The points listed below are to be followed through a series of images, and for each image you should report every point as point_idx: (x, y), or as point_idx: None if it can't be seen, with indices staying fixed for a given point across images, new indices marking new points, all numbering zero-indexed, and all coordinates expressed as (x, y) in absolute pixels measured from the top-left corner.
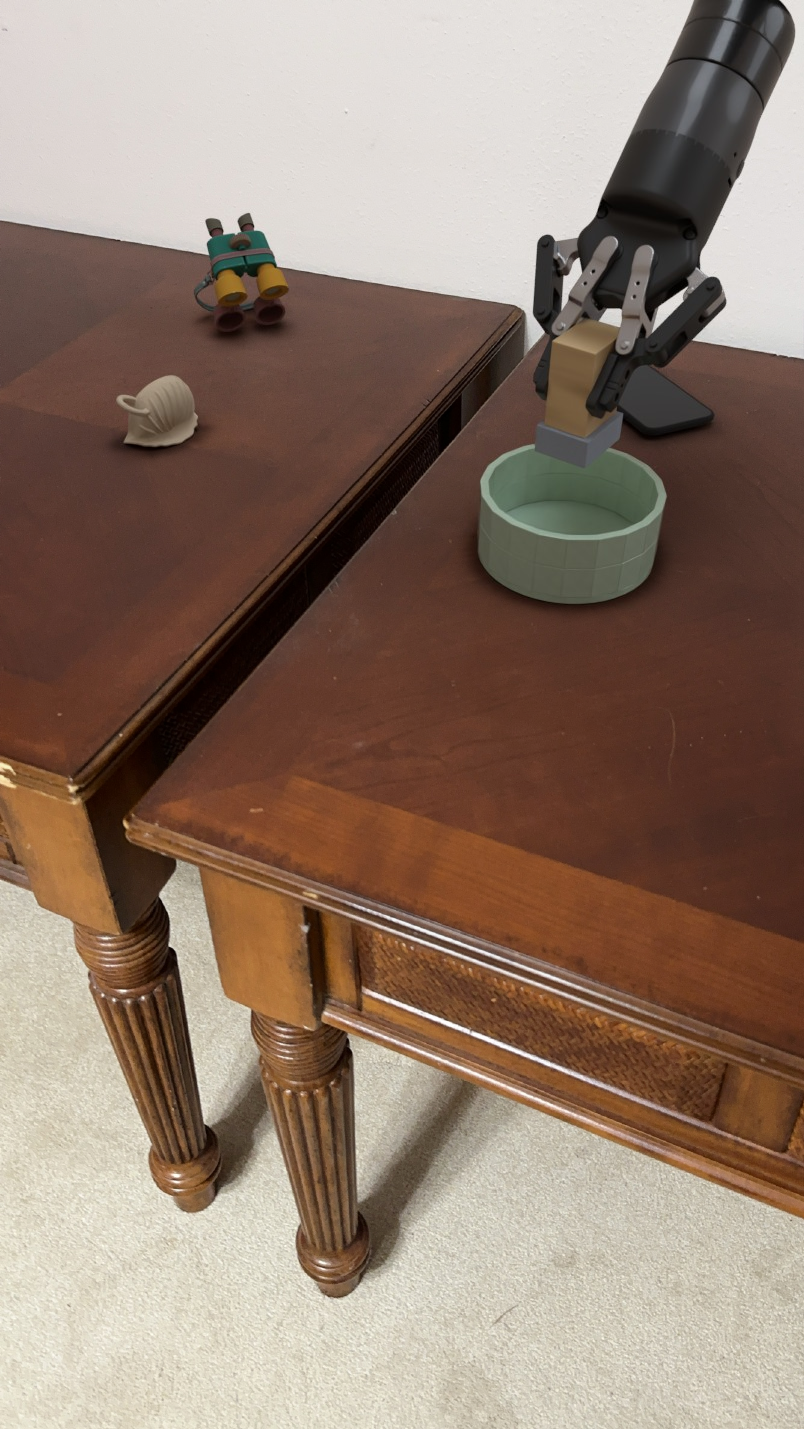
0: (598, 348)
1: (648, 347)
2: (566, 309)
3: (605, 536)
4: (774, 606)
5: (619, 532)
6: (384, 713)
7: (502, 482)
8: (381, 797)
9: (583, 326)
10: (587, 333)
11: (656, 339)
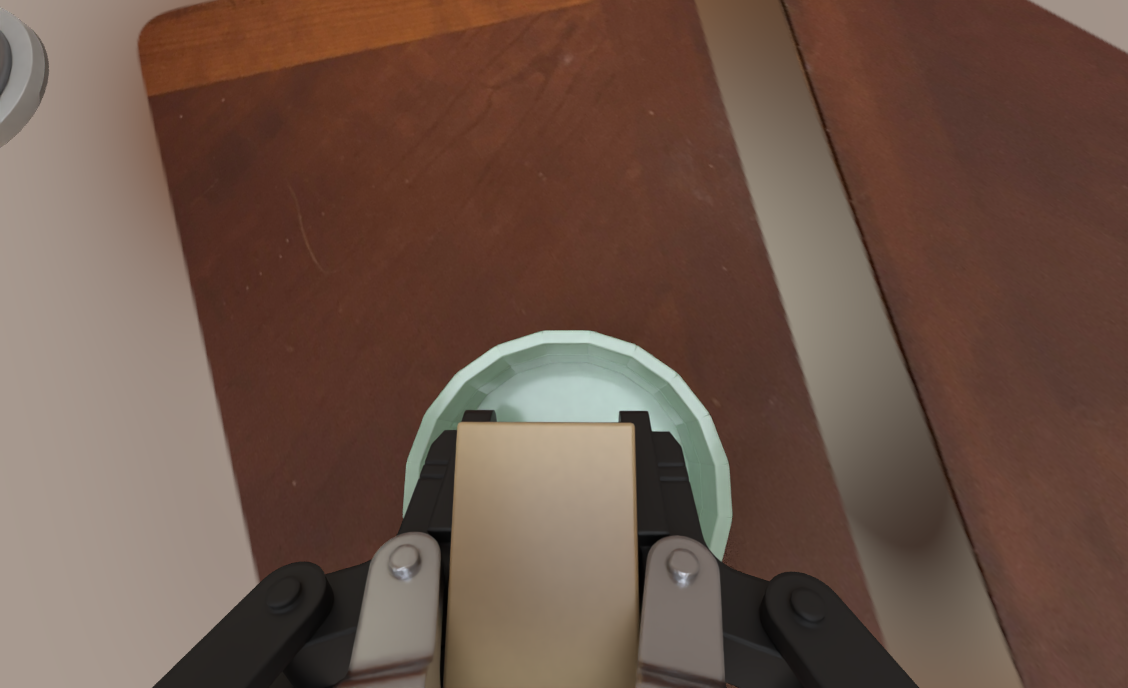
0: (465, 465)
1: (307, 575)
2: (704, 640)
3: (450, 386)
4: (271, 533)
5: (435, 409)
6: (574, 103)
7: (704, 492)
8: (509, 25)
9: (603, 611)
10: (558, 558)
11: (270, 610)
